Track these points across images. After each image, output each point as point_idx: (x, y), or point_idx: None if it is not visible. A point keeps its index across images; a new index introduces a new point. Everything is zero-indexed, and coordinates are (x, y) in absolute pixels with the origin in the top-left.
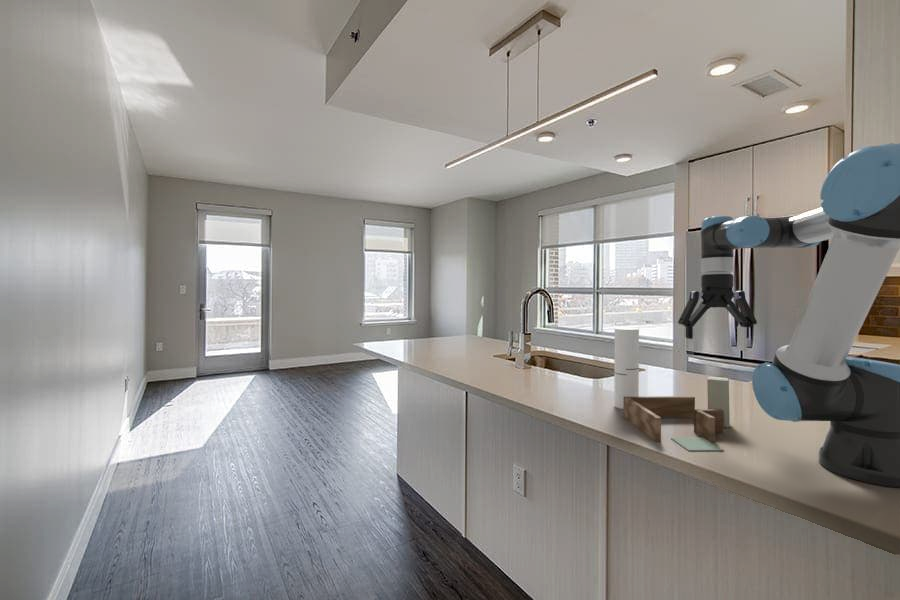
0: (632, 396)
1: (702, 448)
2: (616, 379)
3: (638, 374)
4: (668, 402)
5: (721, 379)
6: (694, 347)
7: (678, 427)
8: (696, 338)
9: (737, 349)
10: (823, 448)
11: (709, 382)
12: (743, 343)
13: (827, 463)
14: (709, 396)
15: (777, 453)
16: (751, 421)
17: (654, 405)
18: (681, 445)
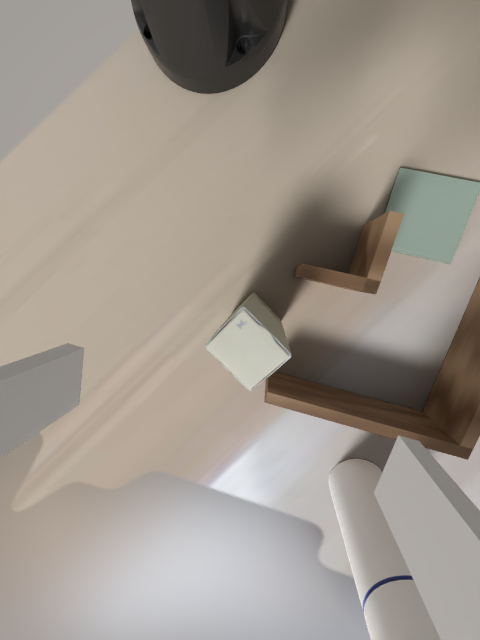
0: (375, 486)
1: (441, 184)
2: None
3: (371, 555)
4: (338, 404)
5: (251, 330)
6: (431, 461)
7: (361, 325)
8: (477, 533)
9: (77, 403)
10: (266, 17)
11: (287, 346)
12: (38, 370)
13: (283, 14)
14: (284, 334)
15: (294, 133)
16: (169, 316)
17: (373, 411)
18: (468, 216)
